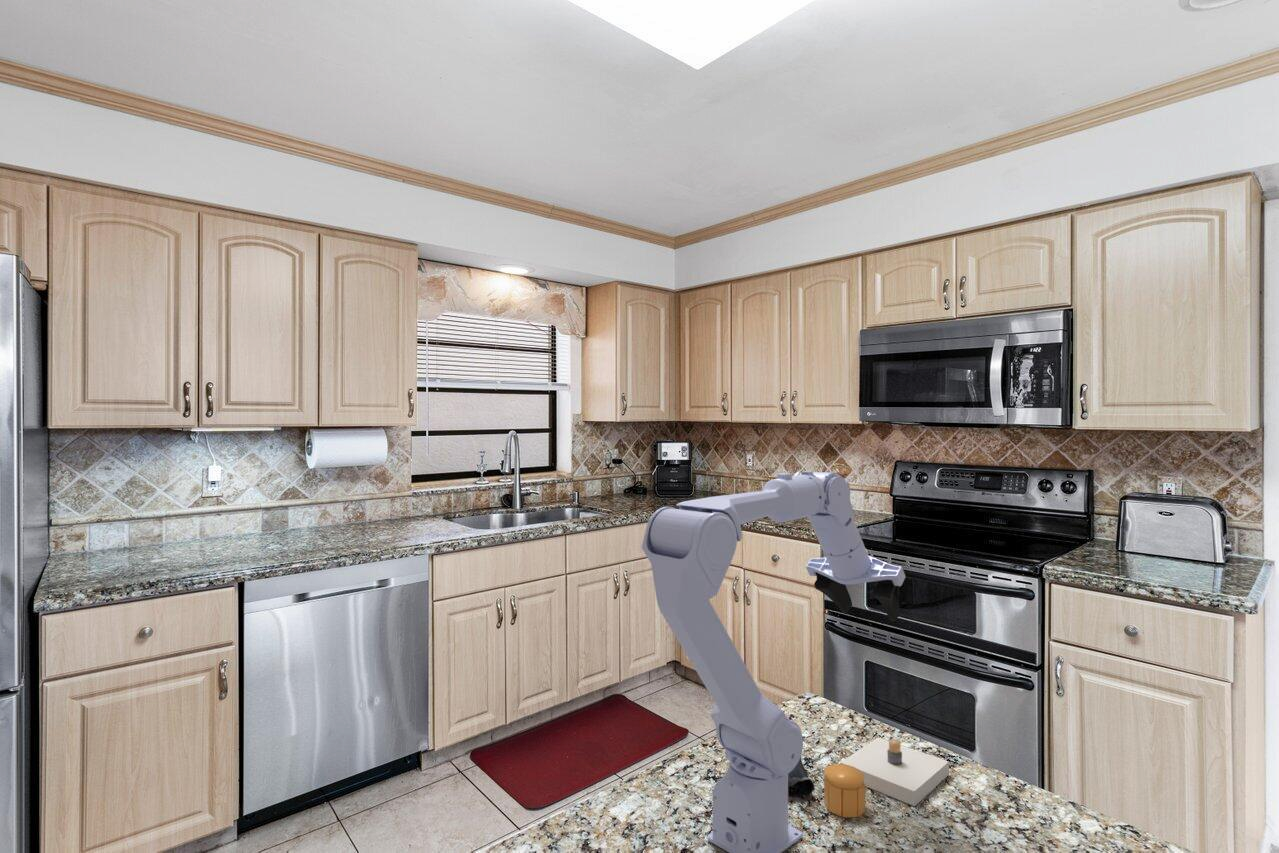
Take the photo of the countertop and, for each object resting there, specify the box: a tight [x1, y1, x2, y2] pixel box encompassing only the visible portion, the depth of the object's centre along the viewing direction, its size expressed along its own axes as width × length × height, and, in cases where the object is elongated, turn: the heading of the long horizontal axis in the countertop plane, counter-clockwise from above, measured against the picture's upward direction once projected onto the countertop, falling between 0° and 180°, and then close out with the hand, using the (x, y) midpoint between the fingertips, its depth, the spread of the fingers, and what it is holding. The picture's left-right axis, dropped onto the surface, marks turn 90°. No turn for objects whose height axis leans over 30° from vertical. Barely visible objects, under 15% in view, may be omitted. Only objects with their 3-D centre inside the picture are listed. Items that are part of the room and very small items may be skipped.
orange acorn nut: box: [823, 763, 866, 818], centre depth 88 cm, size 5×5×4 cm
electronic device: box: [788, 756, 816, 798], centre depth 97 cm, size 9×6×15 cm
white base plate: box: [839, 736, 950, 807], centre depth 96 cm, size 12×11×5 cm
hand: (871, 612), depth 98 cm, fingers open, 7 cm apart
